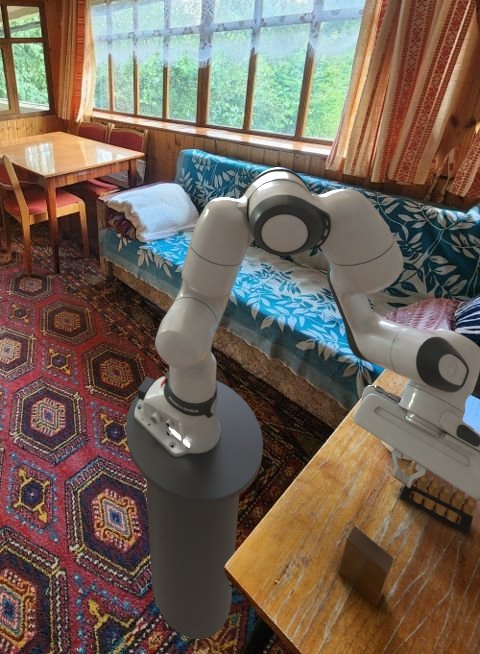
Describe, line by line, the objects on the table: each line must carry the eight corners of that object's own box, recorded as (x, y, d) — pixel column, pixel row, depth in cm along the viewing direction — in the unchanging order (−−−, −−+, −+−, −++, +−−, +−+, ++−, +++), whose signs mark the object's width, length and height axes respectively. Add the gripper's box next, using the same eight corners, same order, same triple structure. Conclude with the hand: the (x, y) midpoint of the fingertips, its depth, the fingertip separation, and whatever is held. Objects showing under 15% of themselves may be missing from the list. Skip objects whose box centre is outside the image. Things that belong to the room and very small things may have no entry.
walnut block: (338, 572, 67) (346, 538, 63) (345, 559, 68) (354, 525, 65) (376, 608, 62) (387, 573, 59) (382, 592, 64) (393, 558, 60)
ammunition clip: (467, 526, 72) (484, 485, 68) (467, 535, 70) (485, 493, 66) (399, 490, 78) (411, 451, 74) (399, 498, 77) (411, 458, 73)
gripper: (365, 377, 76) (337, 440, 74) (503, 451, 61) (473, 533, 59) (370, 382, 80) (344, 442, 78) (500, 452, 65) (472, 529, 63)
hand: (400, 482), depth 68 cm, fingers closed
